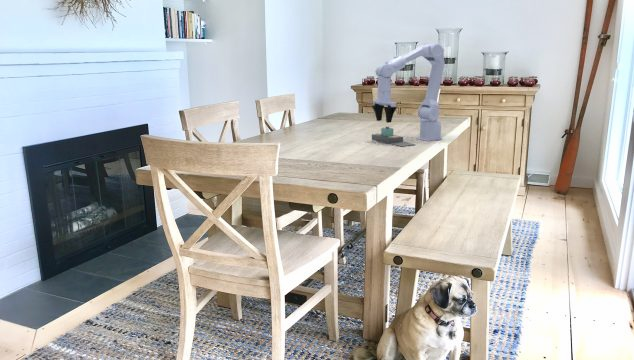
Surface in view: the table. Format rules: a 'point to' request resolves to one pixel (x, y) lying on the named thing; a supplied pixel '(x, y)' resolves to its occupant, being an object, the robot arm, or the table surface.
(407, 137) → the table surface
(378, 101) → the robot arm
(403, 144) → the mat
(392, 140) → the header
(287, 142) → the table surface
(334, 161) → the table surface
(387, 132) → the plug
